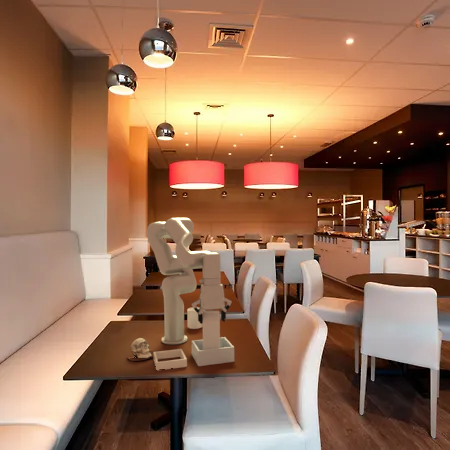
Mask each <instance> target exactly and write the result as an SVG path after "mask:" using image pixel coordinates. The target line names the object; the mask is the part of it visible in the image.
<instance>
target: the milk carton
mask: <svg viewBox="0 0 450 450" xmlns="http://www.w3.org/2000/svg"><path fill="white" fill-rule="evenodd" d="M202 315H203V323H202V340H203V350H207V349H216V348H220V338H221V311H220V310H204V311H203V313H202Z"/></svg>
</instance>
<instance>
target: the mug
mask: <svg viewBox="0 0 450 450" xmlns="http://www.w3.org/2000/svg"><path fill="white" fill-rule="evenodd" d="M196 307H197V309H199V308H200V306H199V307H198V306H196ZM186 311H187V315H186V316H187V329H191V330H197V329H201V328H203V323H202V324H201V323H200V322H199V321H198V313H197V312H196V311H195V310H194V308H193V306H192V307H189V308H187V310H186ZM202 314H203V312H202Z"/></svg>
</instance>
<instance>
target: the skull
mask: <svg viewBox="0 0 450 450" xmlns="http://www.w3.org/2000/svg"><path fill="white" fill-rule="evenodd" d="M149 348H150V345H149V344H148V341H147V340H146V339H145V338H141V337H139V338H136V339H134V341H133V342H132V343H131V345H130V348H129V349H130V350H131V355H134V356H135V357H136V358H135V357H134V358H130V359H129V360H128V361H133V362H134V361H135V362H137V361H145V360H149V359H153V358H154V356H153V352H154V351H152V350H151V349H149Z"/></svg>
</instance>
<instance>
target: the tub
mask: <svg viewBox="0 0 450 450" xmlns="http://www.w3.org/2000/svg"><path fill="white" fill-rule="evenodd" d="M191 356H192V357H193V359H194V361H195V363H196V365H197V367H203V366H210V365H218V364H220V365H221V364H225V363H233V362H234V363H235V346H234V345H233V344H232V343H231V342H230V340H228V339H227V337H226V336H224V337H223V336H220V348H216V349H207V350H203V339H195V340H191Z"/></svg>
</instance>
